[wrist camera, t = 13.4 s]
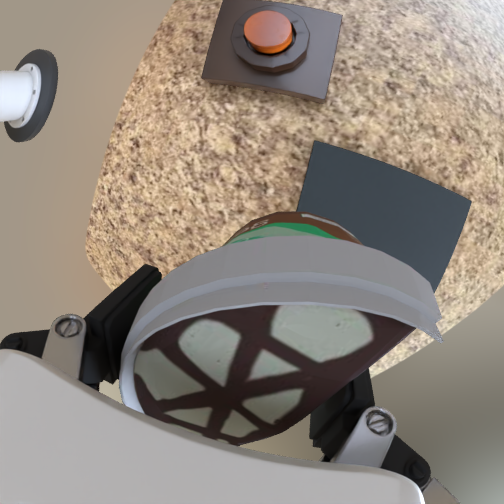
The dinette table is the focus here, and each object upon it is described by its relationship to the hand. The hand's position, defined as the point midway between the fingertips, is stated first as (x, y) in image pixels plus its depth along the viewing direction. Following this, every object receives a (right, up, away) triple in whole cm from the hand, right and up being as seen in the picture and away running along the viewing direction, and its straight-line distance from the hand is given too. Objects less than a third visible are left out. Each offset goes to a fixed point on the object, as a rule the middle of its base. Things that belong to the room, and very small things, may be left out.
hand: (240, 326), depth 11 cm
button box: (+3, +24, +12) cm, 27 cm away
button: (+2, +22, +8) cm, 24 cm away
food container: (+1, +3, +5) cm, 6 cm away
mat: (+15, +4, +17) cm, 23 cm away
